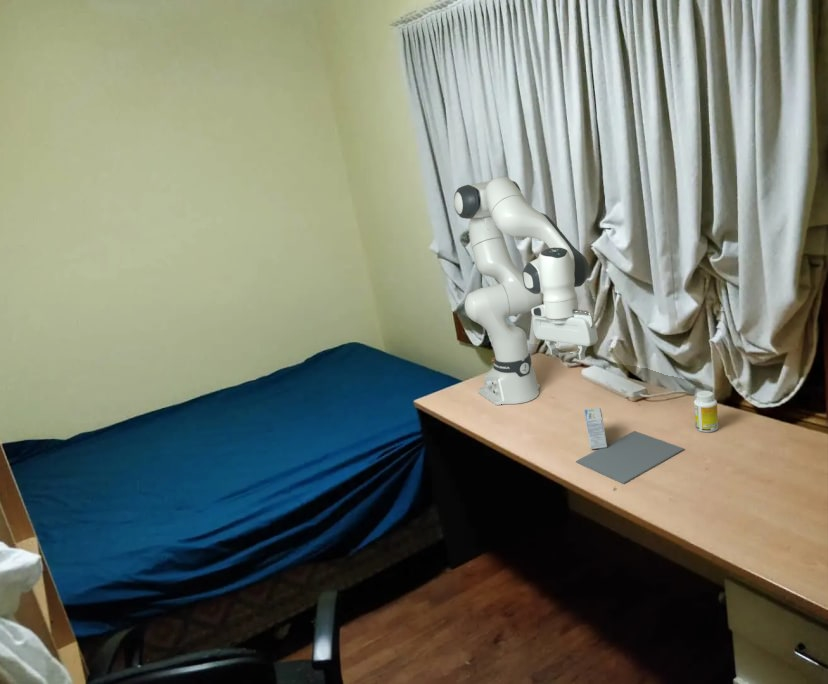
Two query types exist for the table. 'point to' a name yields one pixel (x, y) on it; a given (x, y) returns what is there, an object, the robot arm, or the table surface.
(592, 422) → the medicine box
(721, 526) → the table surface
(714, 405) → the supplement bottle
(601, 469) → the mat
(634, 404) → the table surface
